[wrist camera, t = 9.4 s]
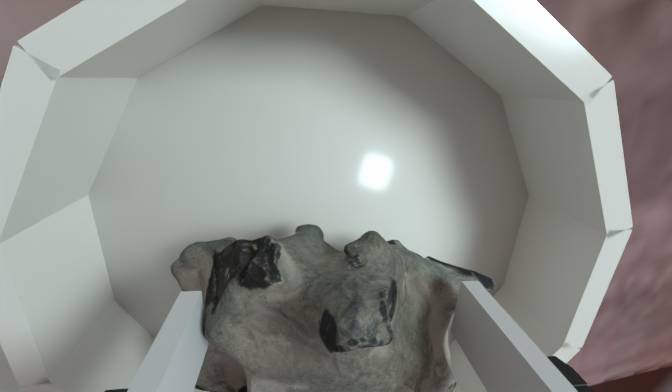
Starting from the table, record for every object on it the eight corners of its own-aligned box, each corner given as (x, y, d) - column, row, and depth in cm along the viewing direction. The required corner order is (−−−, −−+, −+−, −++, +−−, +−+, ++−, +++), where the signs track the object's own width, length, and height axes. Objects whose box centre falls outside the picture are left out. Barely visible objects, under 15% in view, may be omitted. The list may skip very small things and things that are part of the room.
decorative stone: (211, 393, 18) (95, 680, 8) (156, 247, 17) (-62, 375, 7) (467, 309, 19) (644, 472, 9) (433, 166, 18) (595, 173, 8)
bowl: (132, 406, 22) (76, 519, 16) (14, -44, 13) (-211, -141, 7) (479, 379, 25) (531, 464, 20) (587, 8, 16) (743, -29, 10)
